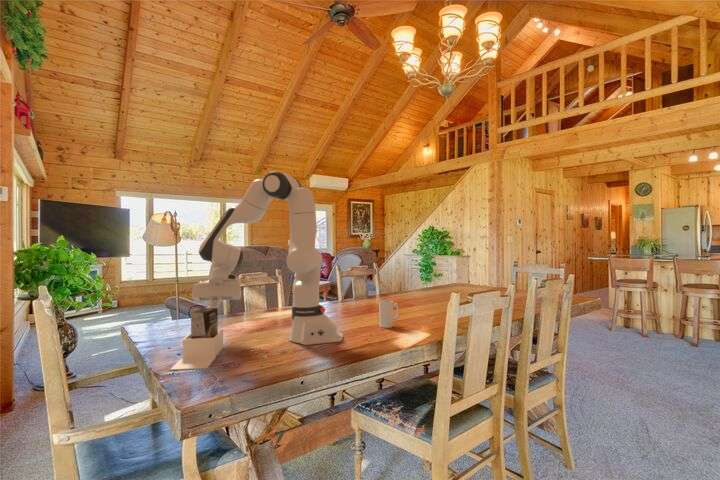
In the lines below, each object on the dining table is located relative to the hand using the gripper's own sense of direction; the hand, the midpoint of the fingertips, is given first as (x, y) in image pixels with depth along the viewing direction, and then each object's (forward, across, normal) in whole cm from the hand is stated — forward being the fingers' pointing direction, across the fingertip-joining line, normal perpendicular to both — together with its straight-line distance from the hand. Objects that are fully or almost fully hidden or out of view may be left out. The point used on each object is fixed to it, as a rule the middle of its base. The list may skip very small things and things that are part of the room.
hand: (214, 307), depth 163 cm
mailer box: (+26, 0, -5) cm, 26 cm away
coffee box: (+21, 0, -1) cm, 21 cm away
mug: (0, +77, +20) cm, 80 cm away
